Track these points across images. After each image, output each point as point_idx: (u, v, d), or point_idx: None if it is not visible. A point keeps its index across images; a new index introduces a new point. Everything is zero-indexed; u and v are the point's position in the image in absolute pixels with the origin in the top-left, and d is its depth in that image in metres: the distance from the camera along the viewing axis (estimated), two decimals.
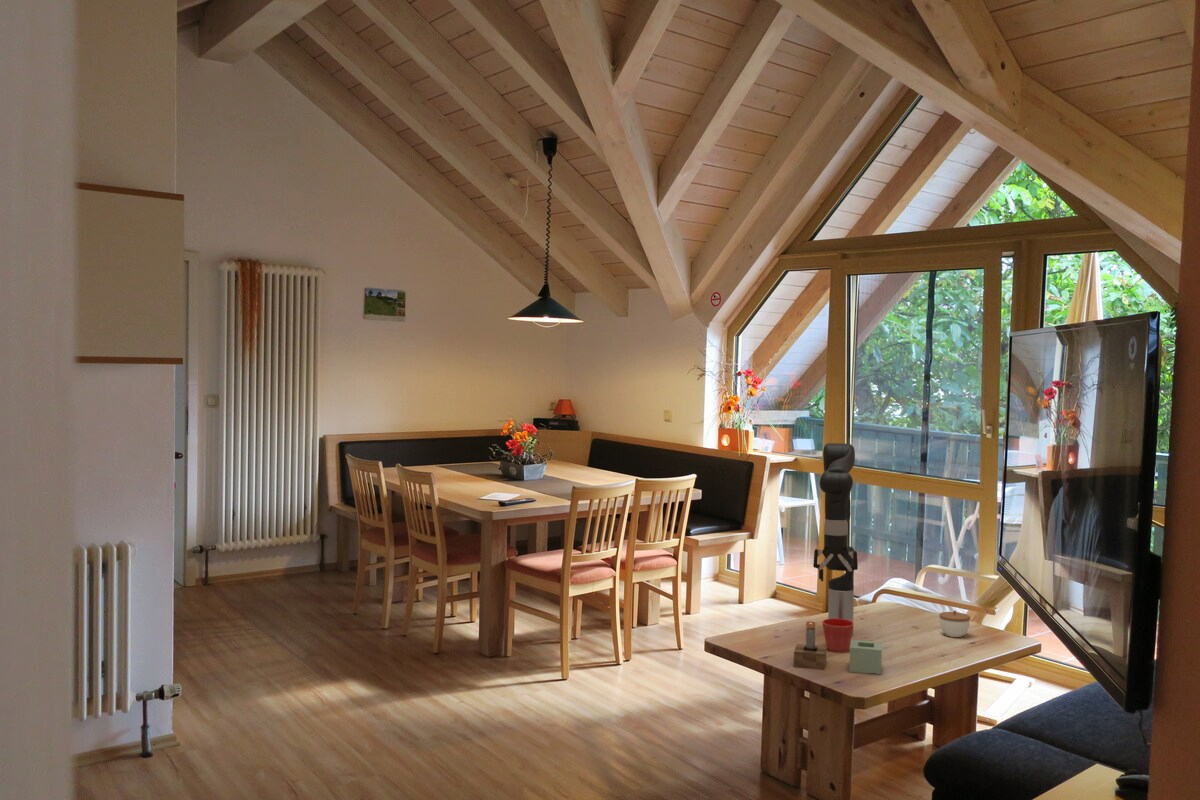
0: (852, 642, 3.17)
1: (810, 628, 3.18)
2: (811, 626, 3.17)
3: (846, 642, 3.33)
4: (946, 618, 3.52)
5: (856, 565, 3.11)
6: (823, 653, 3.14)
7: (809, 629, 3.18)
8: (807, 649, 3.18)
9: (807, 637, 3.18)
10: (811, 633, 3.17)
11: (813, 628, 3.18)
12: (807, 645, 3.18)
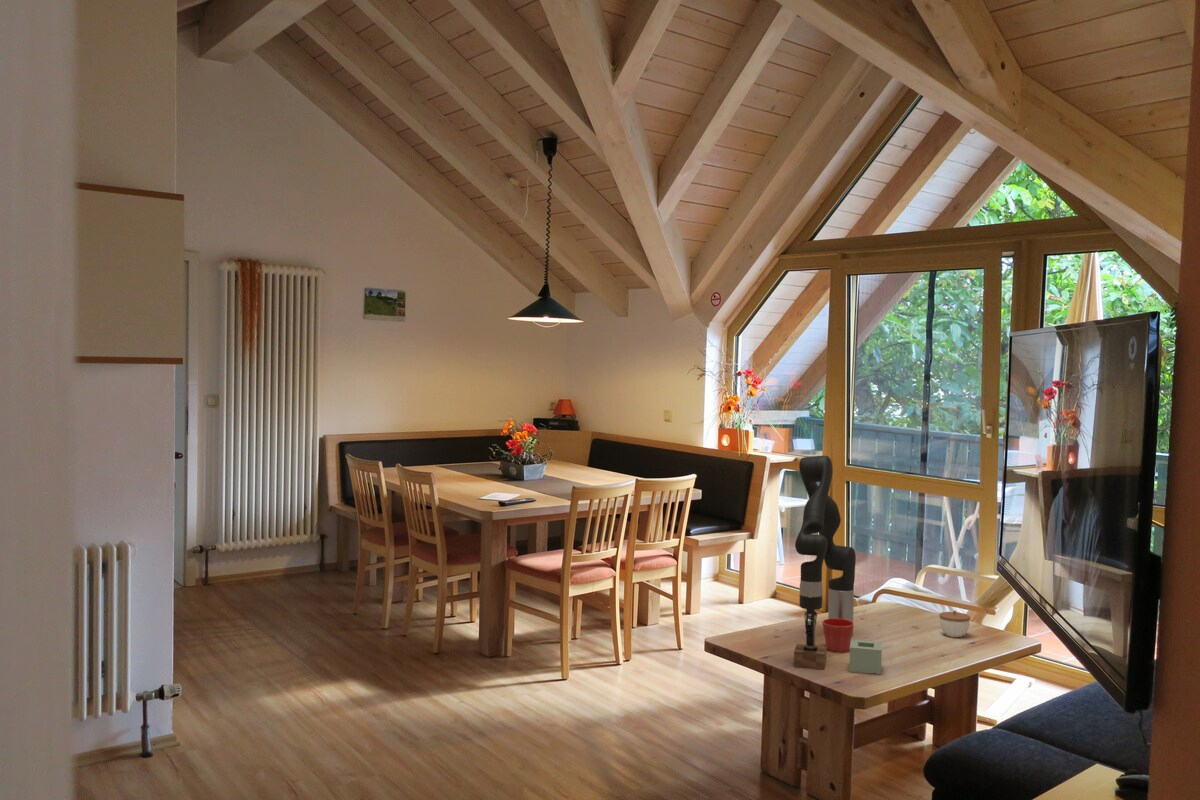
0: (852, 642, 3.17)
1: None
2: None
3: (846, 642, 3.33)
4: (946, 618, 3.52)
5: None
6: (823, 653, 3.14)
7: (809, 629, 3.18)
8: (807, 649, 3.18)
9: None
10: None
11: None
12: None
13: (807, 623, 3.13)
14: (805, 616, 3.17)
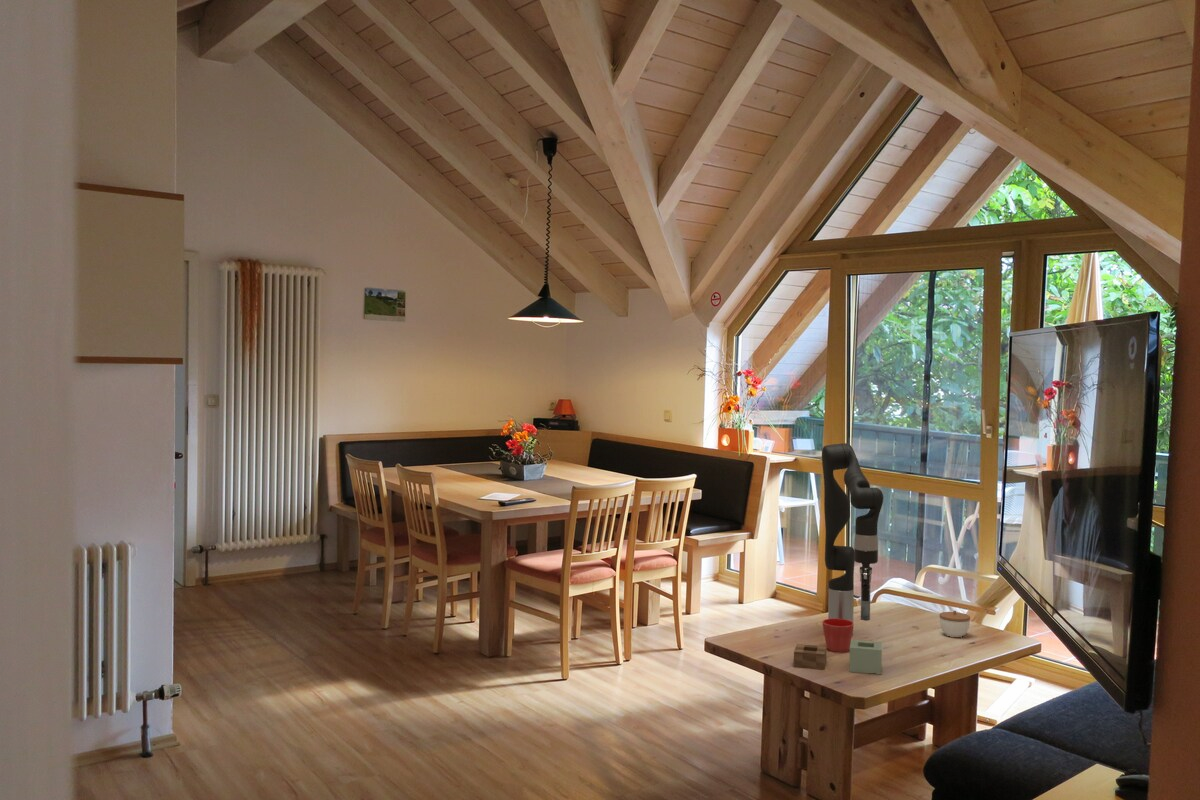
0: (852, 642, 3.17)
1: (865, 583, 3.12)
2: None
3: (846, 642, 3.33)
4: (946, 618, 3.52)
5: None
6: (823, 653, 3.14)
7: (865, 584, 3.12)
8: (862, 604, 3.13)
9: None
10: None
11: None
12: None
13: (863, 577, 3.08)
14: (860, 571, 3.12)
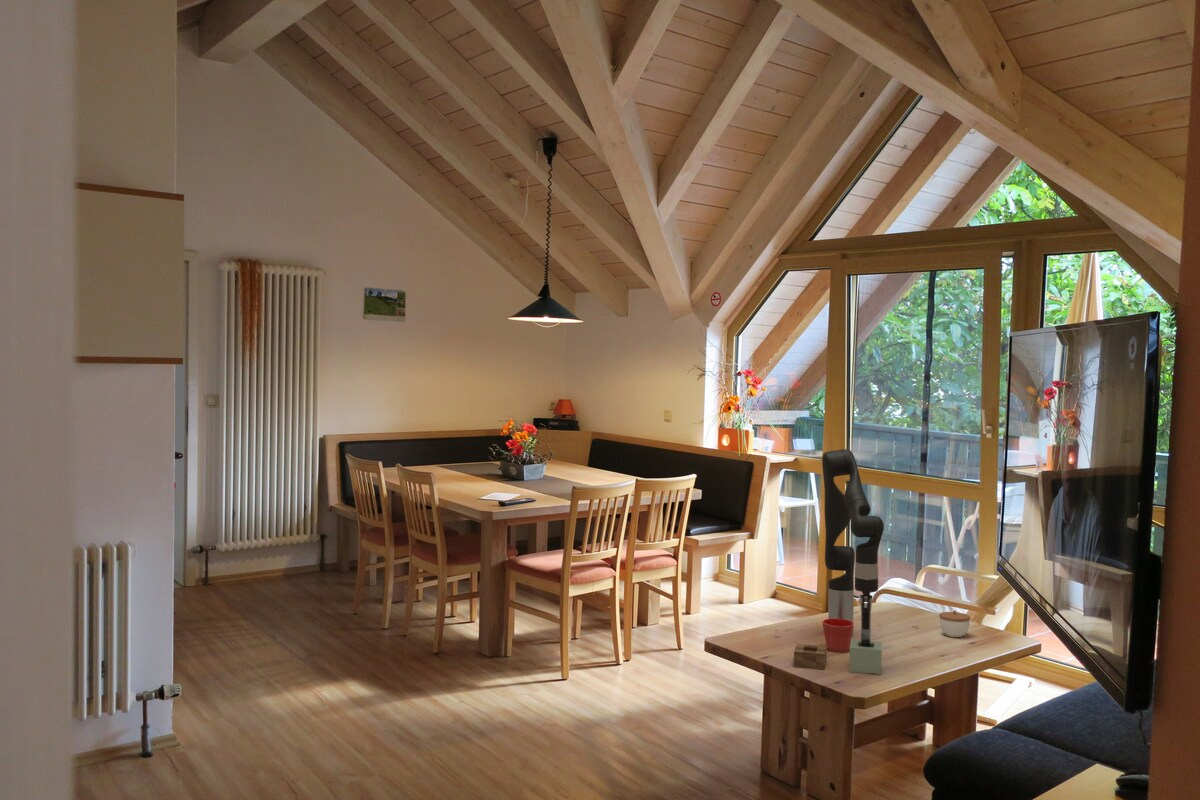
0: (852, 642, 3.17)
1: None
2: None
3: (846, 642, 3.33)
4: (946, 618, 3.52)
5: None
6: (823, 653, 3.14)
7: (865, 612, 3.12)
8: (862, 632, 3.13)
9: None
10: None
11: None
12: None
13: (863, 606, 3.08)
14: (861, 599, 3.12)
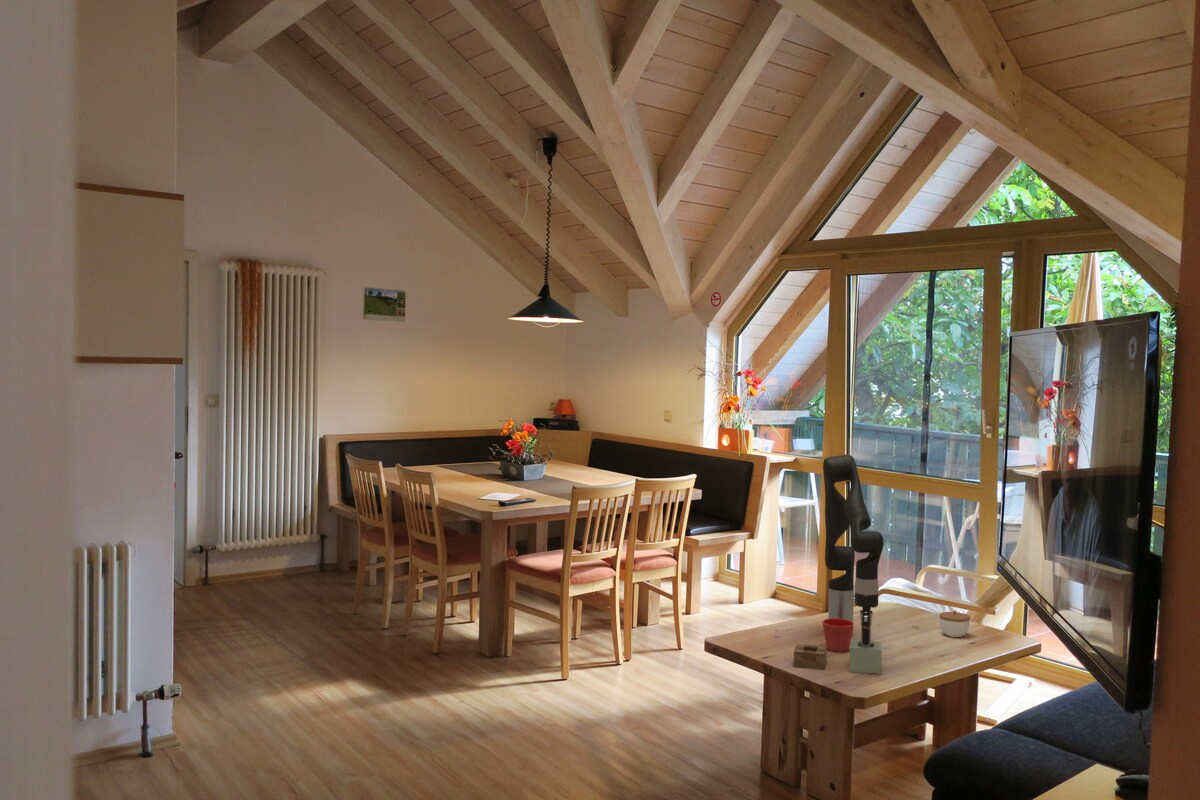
0: (852, 642, 3.17)
1: None
2: None
3: (846, 642, 3.33)
4: (946, 618, 3.52)
5: None
6: (823, 653, 3.14)
7: None
8: None
9: None
10: None
11: None
12: None
13: (864, 619, 3.07)
14: (861, 614, 3.12)
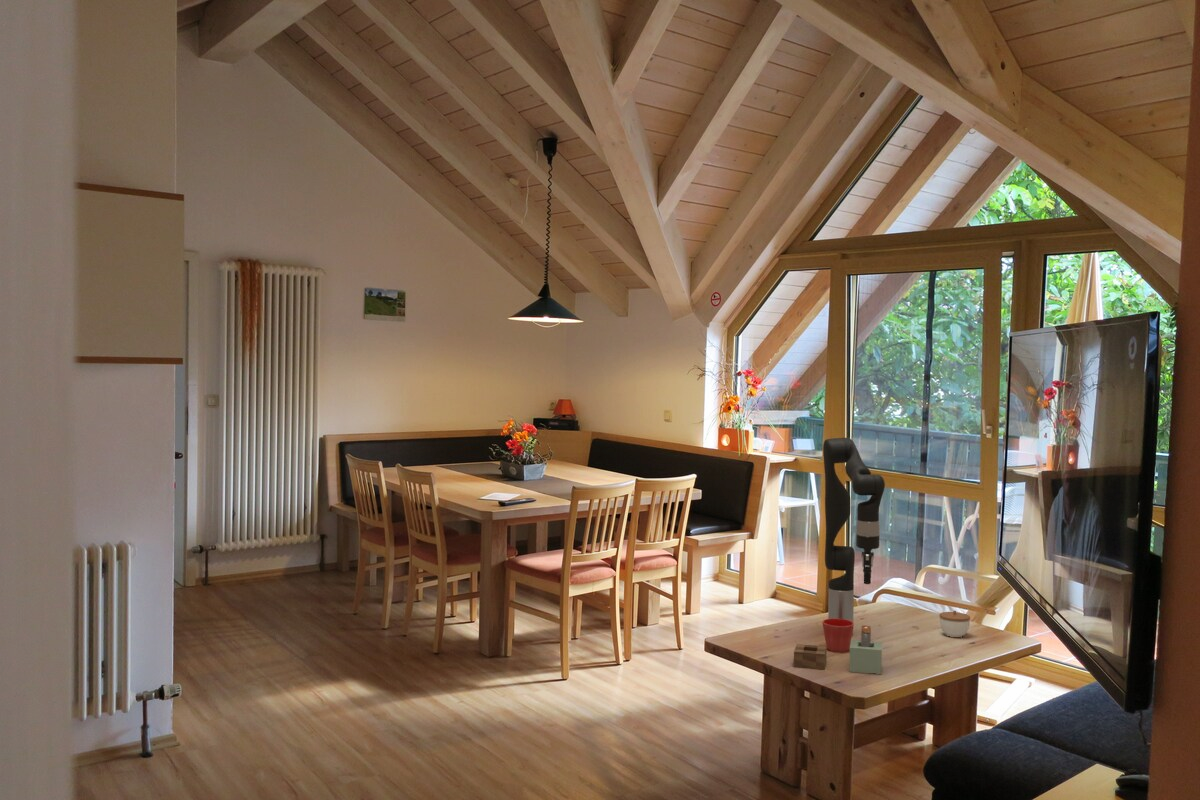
0: (852, 642, 3.17)
1: (866, 632, 3.12)
2: (867, 630, 3.12)
3: (846, 642, 3.33)
4: (946, 618, 3.52)
5: None
6: (823, 653, 3.14)
7: (865, 634, 3.12)
8: None
9: (862, 641, 3.13)
10: (867, 638, 3.12)
11: (869, 632, 3.13)
12: None
13: (865, 558, 3.13)
14: (862, 555, 3.18)
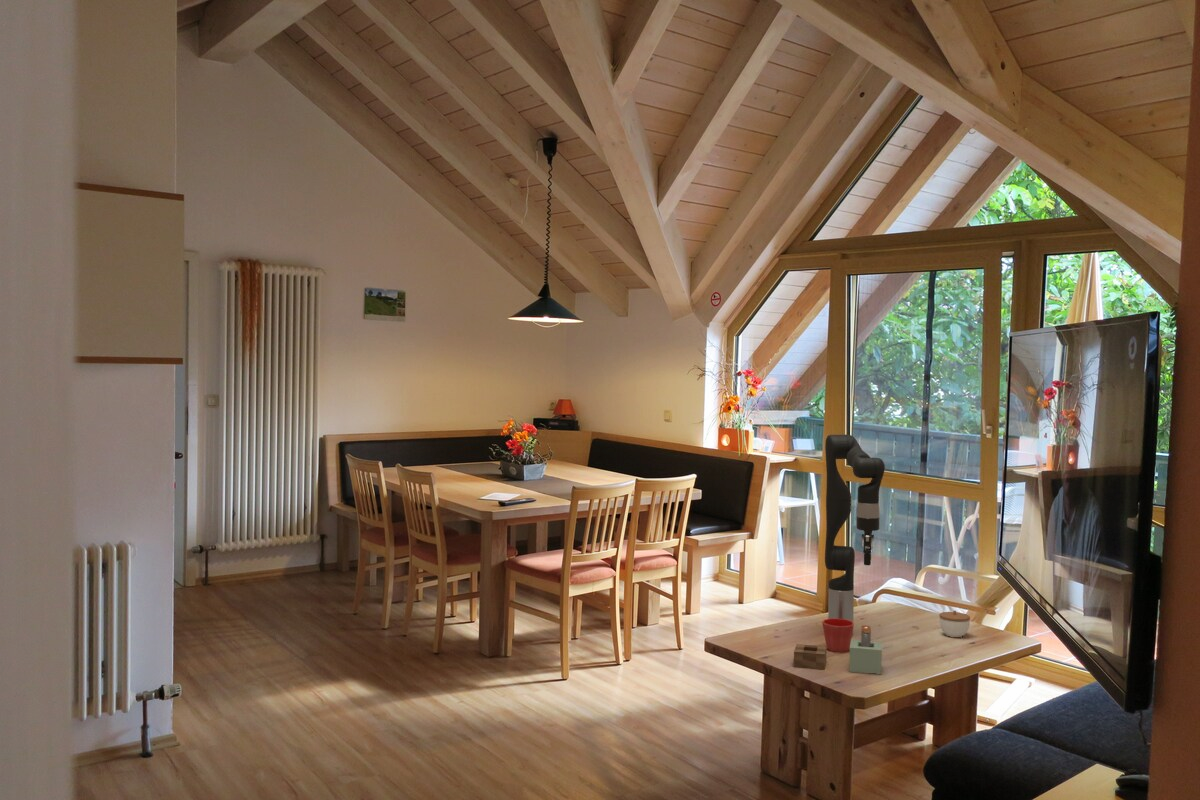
0: (852, 642, 3.17)
1: (866, 632, 3.12)
2: (867, 630, 3.12)
3: (846, 642, 3.33)
4: (946, 618, 3.52)
5: None
6: (823, 653, 3.14)
7: (865, 634, 3.12)
8: None
9: (862, 641, 3.13)
10: (867, 638, 3.12)
11: (869, 632, 3.13)
12: None
13: (865, 539, 3.18)
14: (862, 537, 3.23)
